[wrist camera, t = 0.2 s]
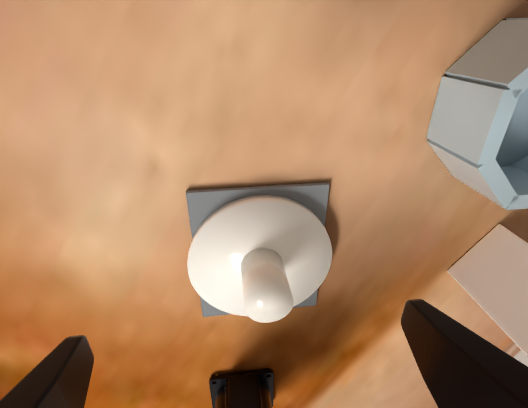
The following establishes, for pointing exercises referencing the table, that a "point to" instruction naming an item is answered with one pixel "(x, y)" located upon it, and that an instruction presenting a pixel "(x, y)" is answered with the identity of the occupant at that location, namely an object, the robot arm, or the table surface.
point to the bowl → (487, 116)
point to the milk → (498, 281)
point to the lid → (259, 257)
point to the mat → (212, 199)
